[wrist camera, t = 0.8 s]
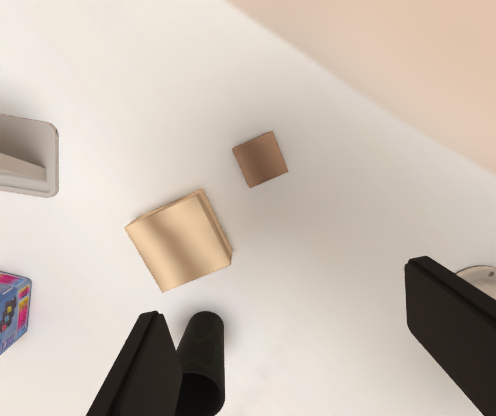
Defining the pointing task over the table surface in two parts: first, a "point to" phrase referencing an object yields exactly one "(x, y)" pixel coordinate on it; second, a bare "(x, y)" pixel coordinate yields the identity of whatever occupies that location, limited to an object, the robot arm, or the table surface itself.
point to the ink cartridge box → (13, 308)
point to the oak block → (181, 241)
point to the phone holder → (28, 157)
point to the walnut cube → (260, 159)
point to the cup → (202, 366)
